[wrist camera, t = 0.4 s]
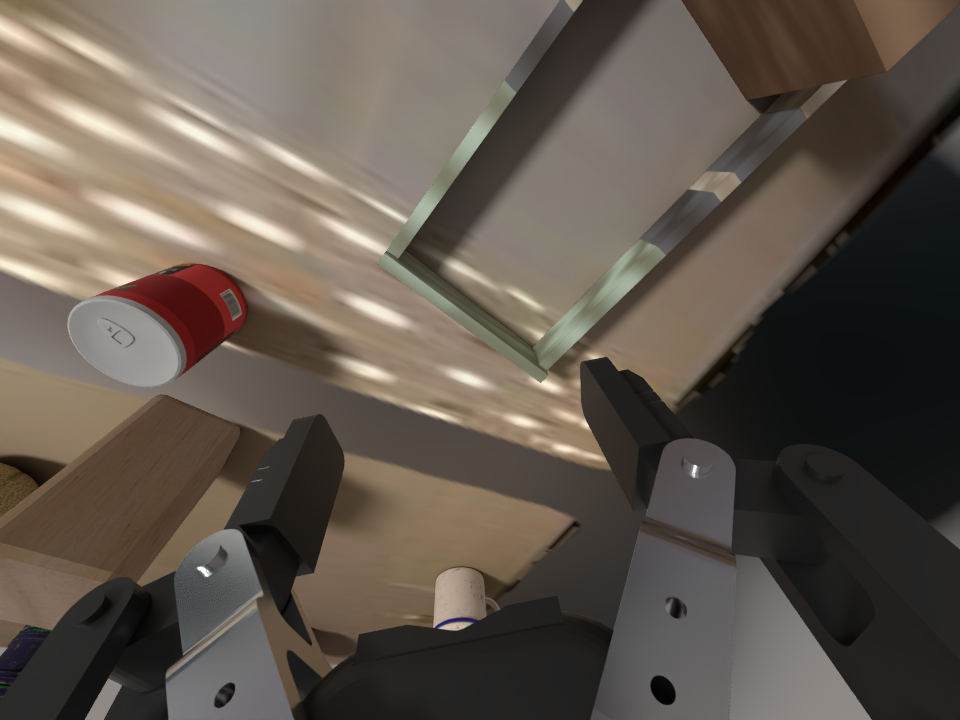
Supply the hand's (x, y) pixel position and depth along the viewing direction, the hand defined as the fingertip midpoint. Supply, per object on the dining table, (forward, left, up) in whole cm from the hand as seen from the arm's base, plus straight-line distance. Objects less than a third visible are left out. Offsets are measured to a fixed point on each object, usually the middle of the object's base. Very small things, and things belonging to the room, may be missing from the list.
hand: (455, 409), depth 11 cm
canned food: (+4, -26, -29) cm, 39 cm away
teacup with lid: (+60, -5, -29) cm, 66 cm away
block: (+21, -36, -29) cm, 51 cm away
